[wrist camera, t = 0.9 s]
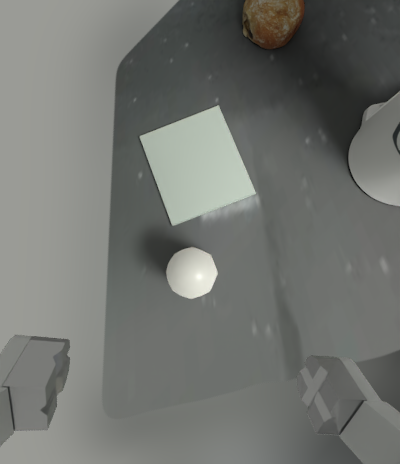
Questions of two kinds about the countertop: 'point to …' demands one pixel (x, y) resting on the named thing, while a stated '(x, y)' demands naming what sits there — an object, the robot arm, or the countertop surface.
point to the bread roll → (272, 21)
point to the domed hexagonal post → (191, 272)
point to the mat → (196, 165)
